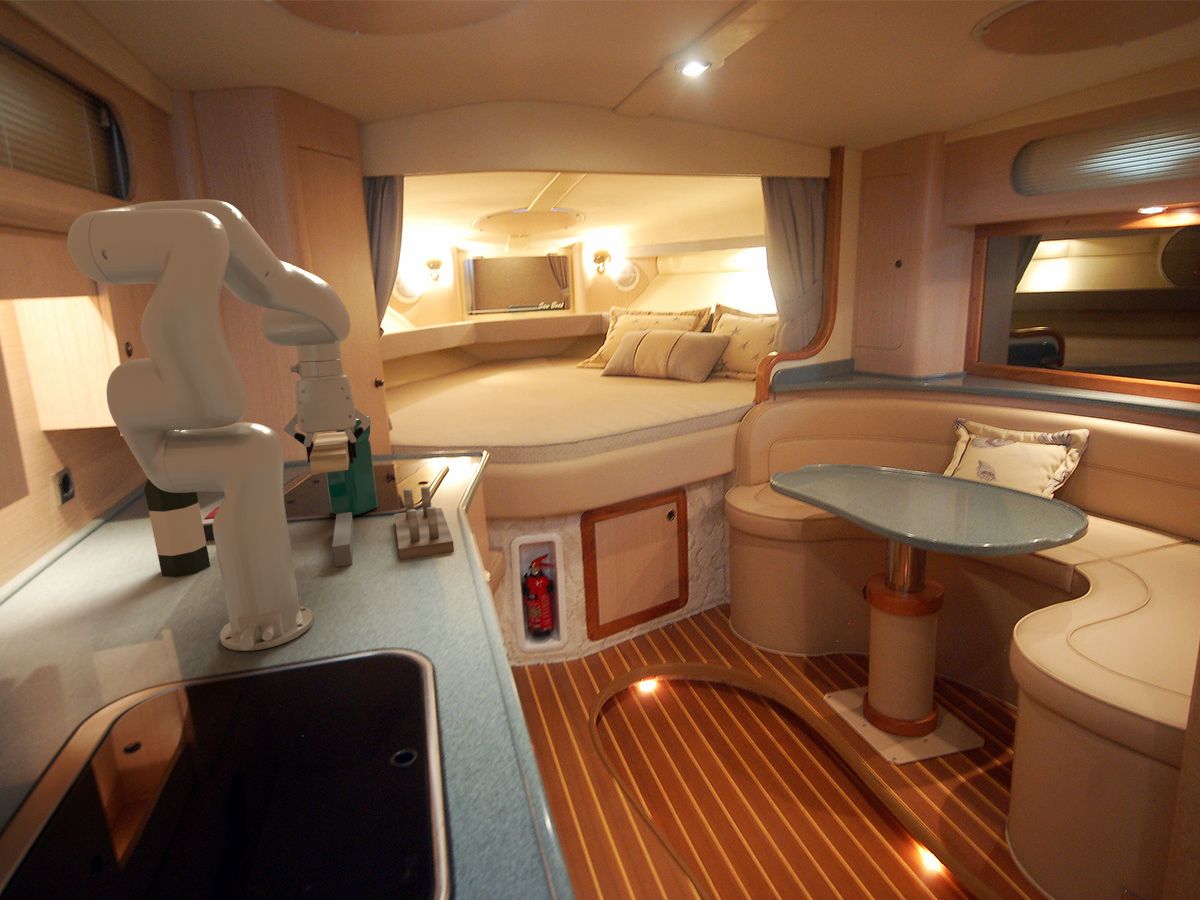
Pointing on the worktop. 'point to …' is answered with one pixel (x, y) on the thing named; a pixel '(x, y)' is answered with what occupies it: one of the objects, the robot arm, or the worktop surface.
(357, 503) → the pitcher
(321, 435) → the wooden block
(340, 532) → the block
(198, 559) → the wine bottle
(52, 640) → the worktop surface
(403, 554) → the peg stand
